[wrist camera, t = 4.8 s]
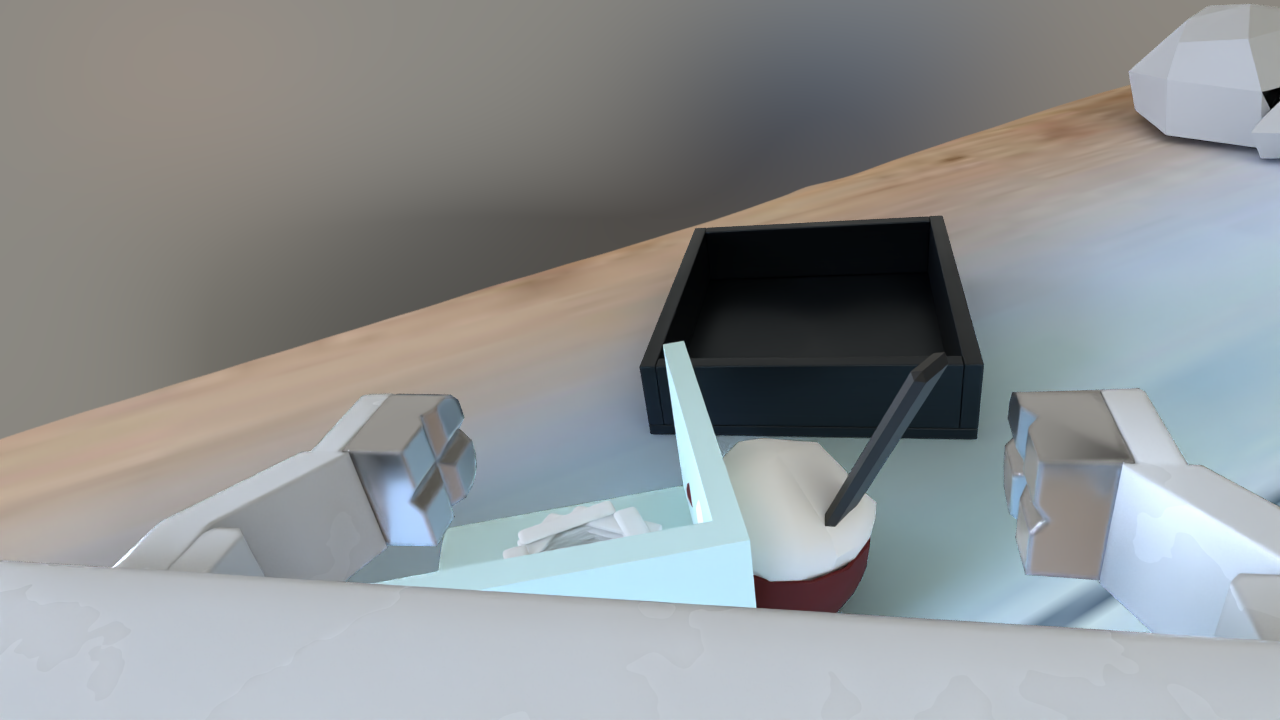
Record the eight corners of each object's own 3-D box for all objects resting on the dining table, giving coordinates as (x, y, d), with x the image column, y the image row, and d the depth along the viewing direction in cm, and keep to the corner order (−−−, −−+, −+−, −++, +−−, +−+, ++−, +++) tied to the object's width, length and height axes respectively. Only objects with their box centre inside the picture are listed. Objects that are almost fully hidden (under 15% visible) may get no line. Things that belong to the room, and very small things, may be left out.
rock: (1368, 97, 68) (1407, -26, 64) (1422, 175, 54) (1478, 24, 49) (1123, 100, 77) (1141, -8, 72) (1113, 168, 63) (1134, 39, 58)
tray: (650, 434, 41) (639, 366, 39) (701, 283, 55) (695, 227, 53) (977, 439, 37) (984, 364, 35) (939, 275, 51) (942, 215, 49)
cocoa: (668, 551, 33) (626, 296, 27) (796, 498, 35) (783, 246, 29) (791, 733, 26) (771, 432, 20) (948, 653, 27) (973, 354, 21)
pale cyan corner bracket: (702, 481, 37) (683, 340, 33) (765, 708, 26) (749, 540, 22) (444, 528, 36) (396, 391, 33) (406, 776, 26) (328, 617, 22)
